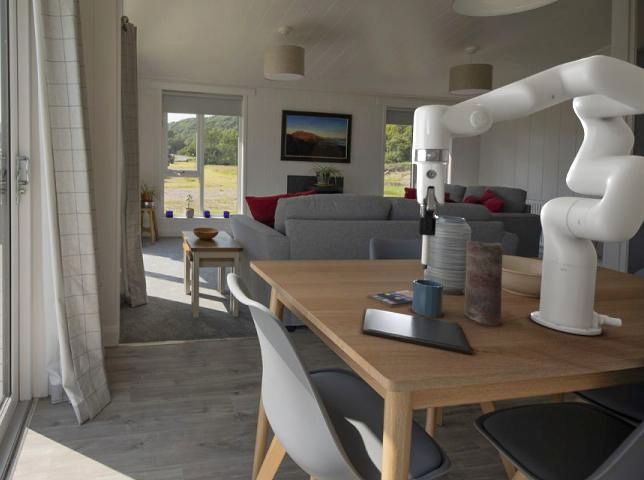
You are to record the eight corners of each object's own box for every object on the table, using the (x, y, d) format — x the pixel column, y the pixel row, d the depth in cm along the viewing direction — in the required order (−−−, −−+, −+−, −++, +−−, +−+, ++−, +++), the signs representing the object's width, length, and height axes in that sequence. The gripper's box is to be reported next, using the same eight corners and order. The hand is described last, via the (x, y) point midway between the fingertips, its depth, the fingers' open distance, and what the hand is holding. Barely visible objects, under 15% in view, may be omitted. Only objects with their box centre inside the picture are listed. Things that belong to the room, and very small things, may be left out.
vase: (430, 282, 131) (433, 214, 130) (471, 291, 122) (476, 218, 121) (418, 289, 123) (421, 216, 122) (461, 298, 114) (466, 220, 113)
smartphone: (368, 297, 113) (368, 293, 113) (406, 292, 119) (406, 289, 119) (391, 307, 106) (391, 302, 106) (431, 301, 111) (431, 297, 111)
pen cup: (439, 311, 103) (441, 281, 103) (442, 319, 97) (444, 288, 97) (411, 306, 106) (412, 277, 106) (412, 314, 100) (414, 284, 100)
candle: (456, 316, 100) (460, 239, 99) (474, 313, 103) (479, 237, 102) (488, 328, 93) (494, 245, 92) (507, 324, 96) (512, 243, 95)
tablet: (457, 326, 93) (458, 323, 93) (470, 354, 79) (470, 350, 79) (366, 311, 102) (366, 307, 102) (363, 333, 88) (363, 329, 88)
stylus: (428, 268, 95) (430, 211, 94) (428, 269, 94) (431, 211, 93) (421, 267, 96) (423, 210, 95) (421, 269, 94) (424, 211, 94)
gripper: (454, 157, 85) (450, 241, 86) (444, 158, 99) (440, 231, 100) (414, 156, 88) (411, 237, 89) (410, 158, 102) (407, 228, 103)
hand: (426, 233), depth 94 cm, fingers closed on stylus, 1 cm apart
